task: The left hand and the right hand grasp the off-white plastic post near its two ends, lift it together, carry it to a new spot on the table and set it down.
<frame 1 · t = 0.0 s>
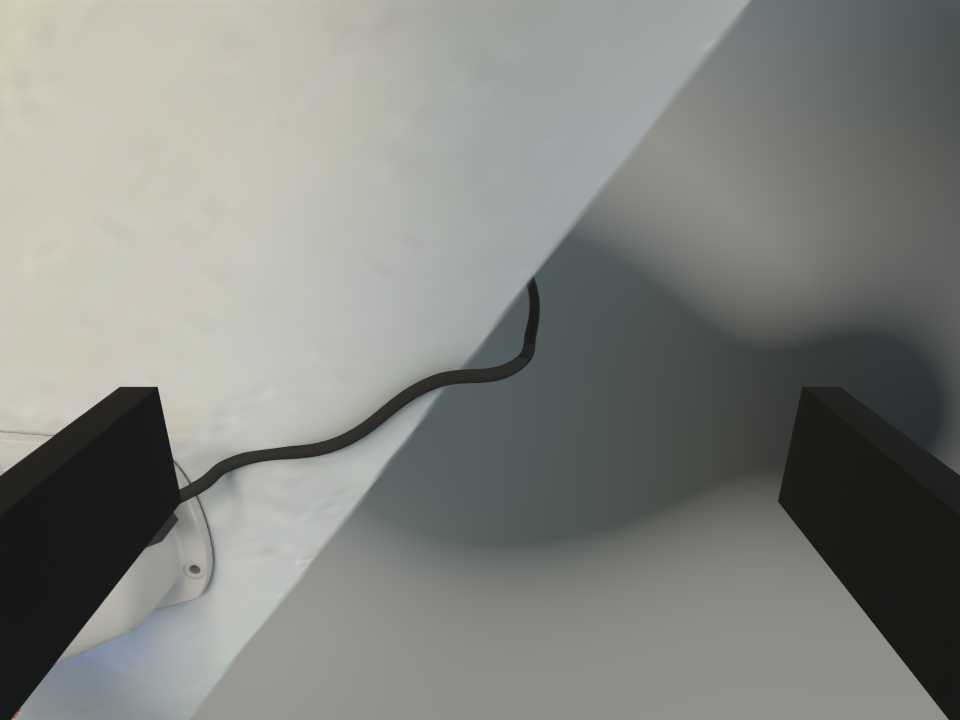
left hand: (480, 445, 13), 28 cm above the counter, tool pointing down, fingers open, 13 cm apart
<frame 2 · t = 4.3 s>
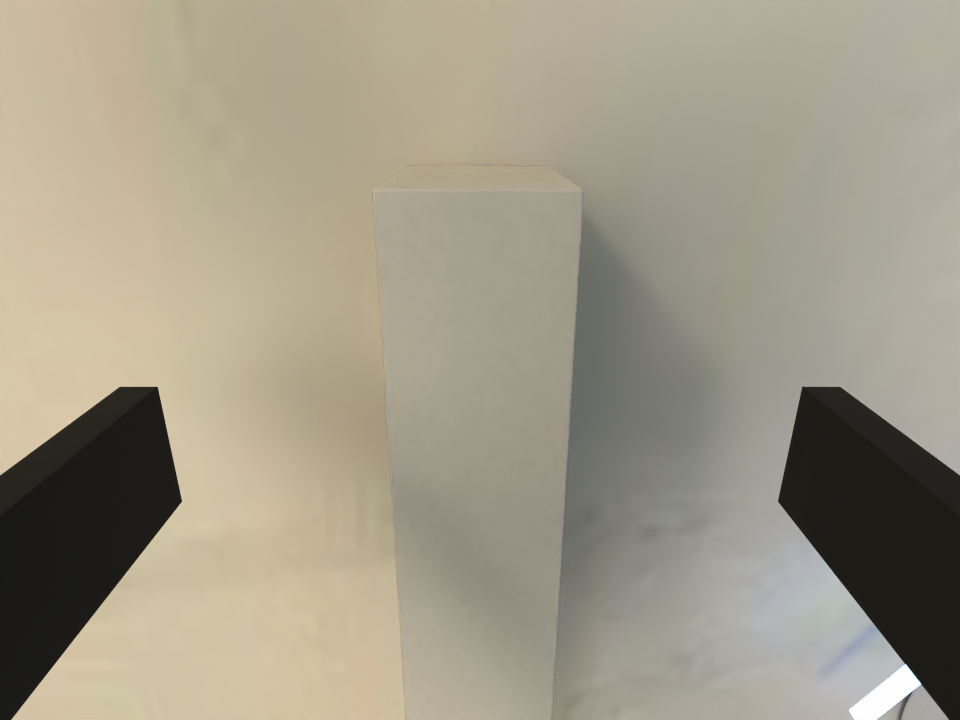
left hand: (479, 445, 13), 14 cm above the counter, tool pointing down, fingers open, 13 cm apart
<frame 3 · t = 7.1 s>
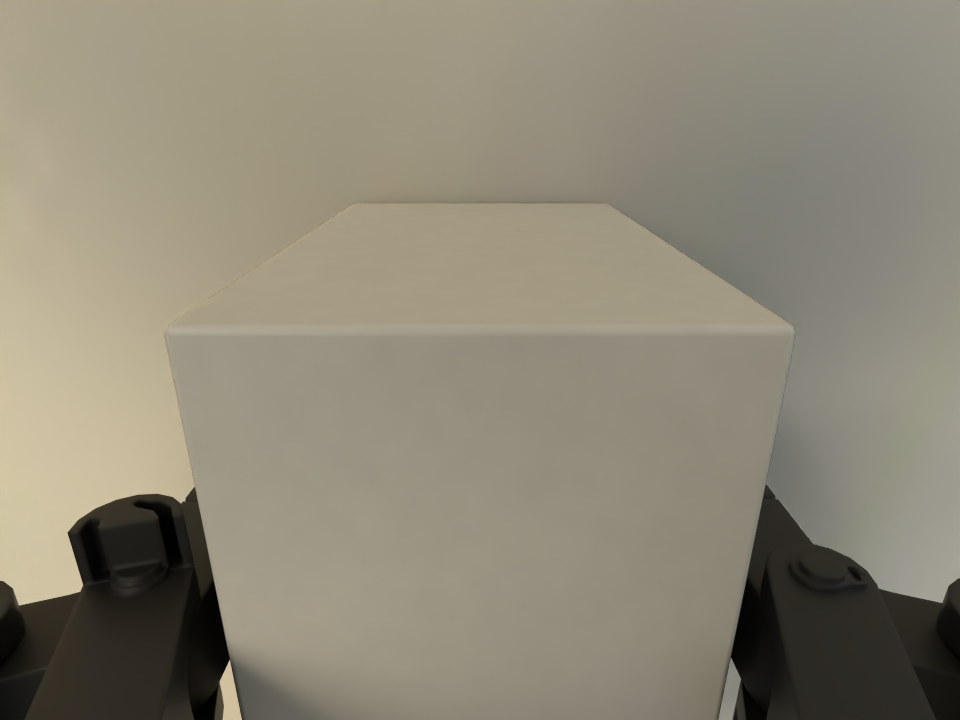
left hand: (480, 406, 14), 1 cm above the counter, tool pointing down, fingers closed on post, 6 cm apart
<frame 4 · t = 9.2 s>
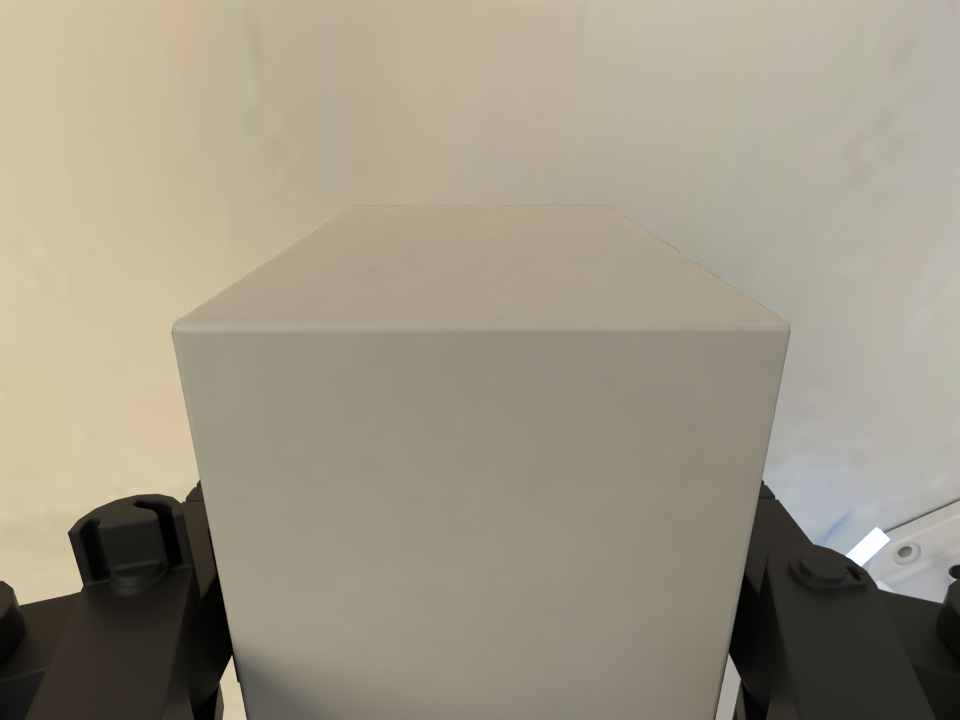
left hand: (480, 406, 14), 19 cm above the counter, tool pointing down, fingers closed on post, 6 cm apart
when the left hand's fingers open (2 cm above the counter, at t = 13.8 s): post stays where it is, on the counter.
when the right hand's fingers open (4 cm above the counter, at t = 14.0 s): post stays where it is, on the counter.
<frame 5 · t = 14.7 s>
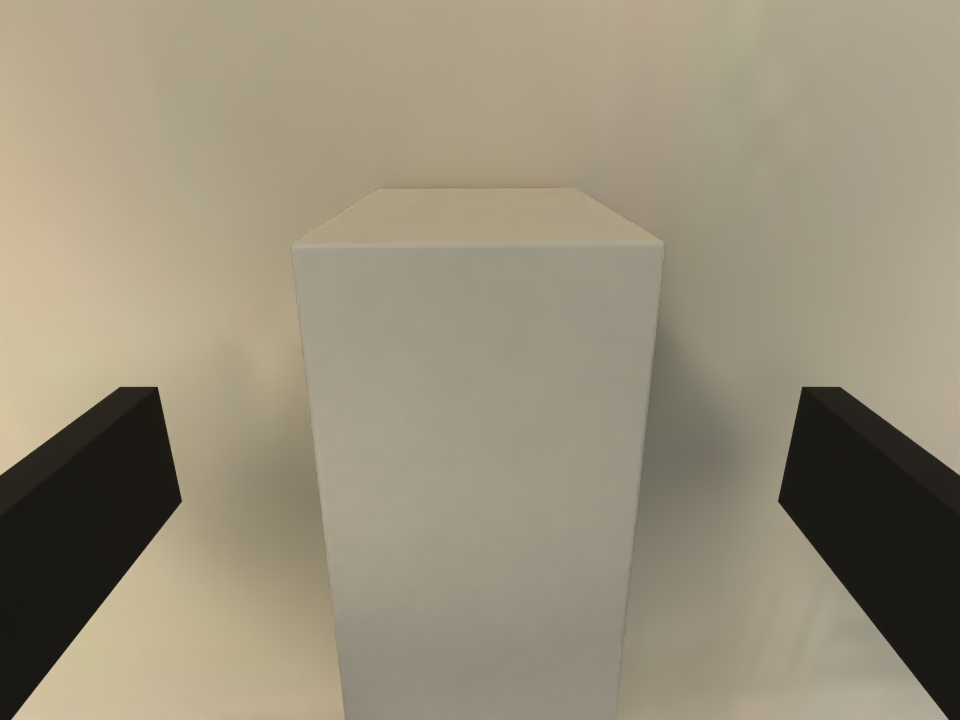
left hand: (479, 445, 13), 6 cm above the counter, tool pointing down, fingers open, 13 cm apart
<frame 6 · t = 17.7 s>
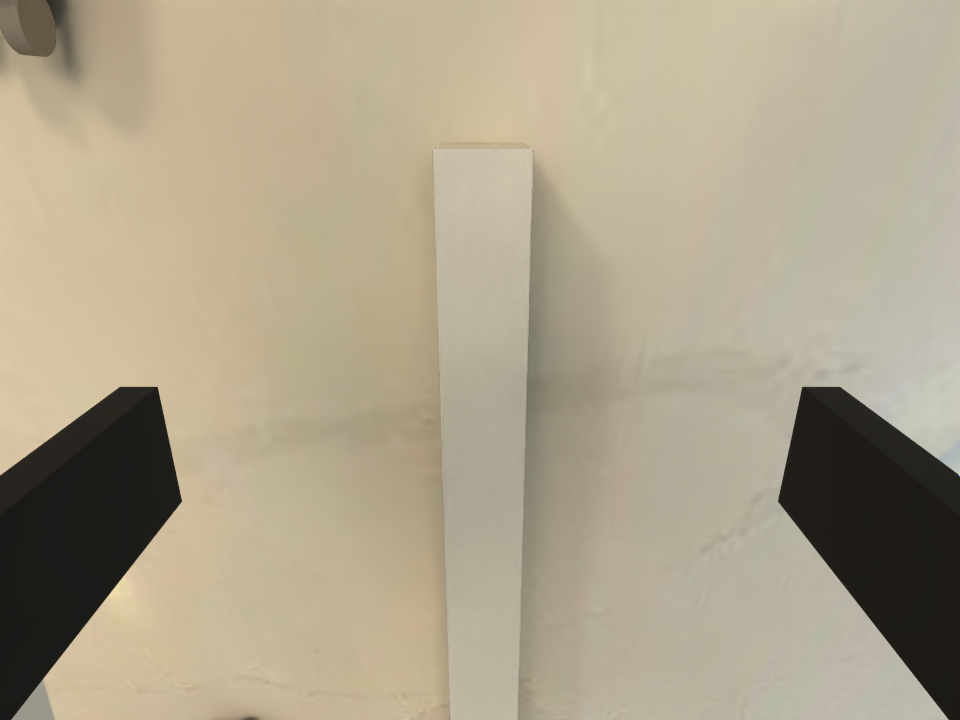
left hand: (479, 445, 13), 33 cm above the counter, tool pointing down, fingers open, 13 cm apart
post: (483, 522, 53), on the counter
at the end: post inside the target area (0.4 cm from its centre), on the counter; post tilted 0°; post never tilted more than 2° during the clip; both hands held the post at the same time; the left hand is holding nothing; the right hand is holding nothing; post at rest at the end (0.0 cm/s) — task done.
